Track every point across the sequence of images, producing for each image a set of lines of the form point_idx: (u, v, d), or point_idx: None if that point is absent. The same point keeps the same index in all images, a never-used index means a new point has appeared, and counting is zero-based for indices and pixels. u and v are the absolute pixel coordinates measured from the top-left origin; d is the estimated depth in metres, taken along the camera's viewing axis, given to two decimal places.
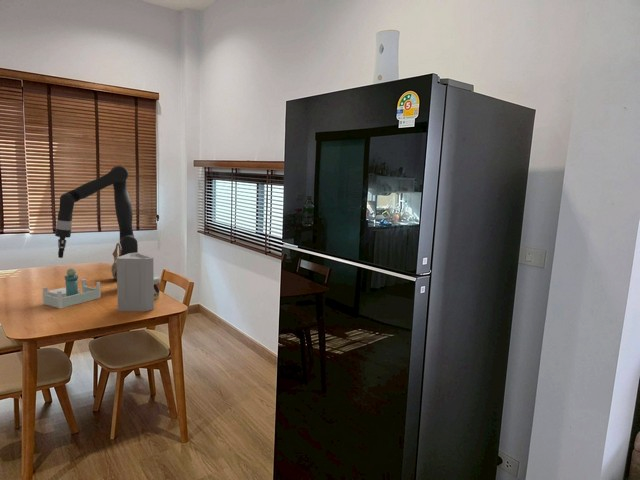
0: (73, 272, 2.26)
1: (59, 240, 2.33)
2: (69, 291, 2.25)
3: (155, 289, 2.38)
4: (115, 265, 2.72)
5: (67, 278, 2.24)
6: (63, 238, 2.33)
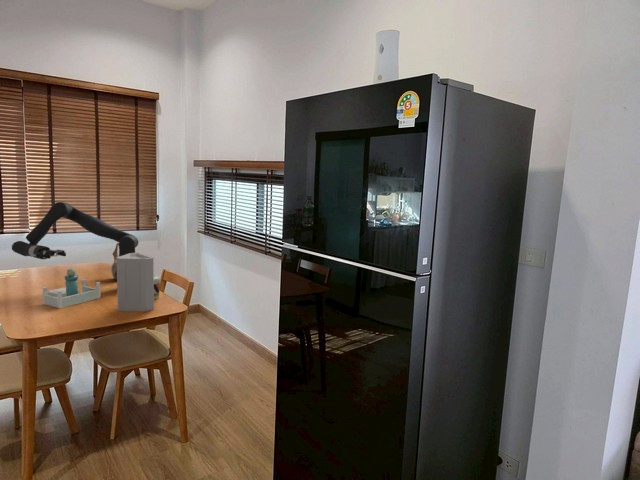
0: (73, 272, 2.26)
1: None
2: (69, 291, 2.25)
3: (155, 289, 2.38)
4: (115, 265, 2.72)
5: (67, 278, 2.24)
6: (38, 253, 2.31)
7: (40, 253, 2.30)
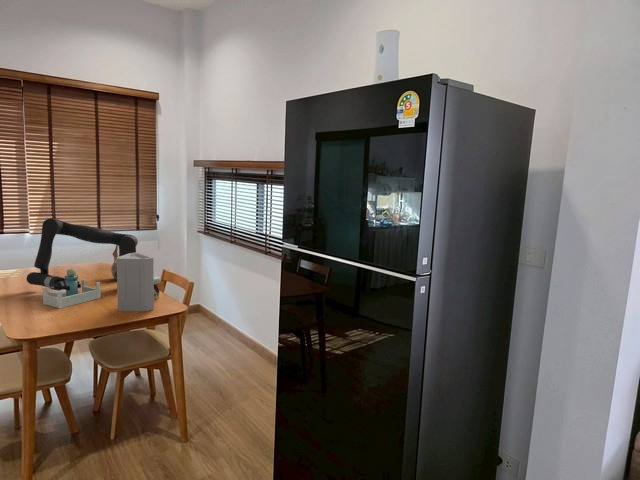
0: (73, 272, 2.26)
1: None
2: (69, 291, 2.25)
3: (155, 289, 2.38)
4: (115, 265, 2.72)
5: (67, 278, 2.24)
6: (54, 284, 2.28)
7: (57, 285, 2.27)
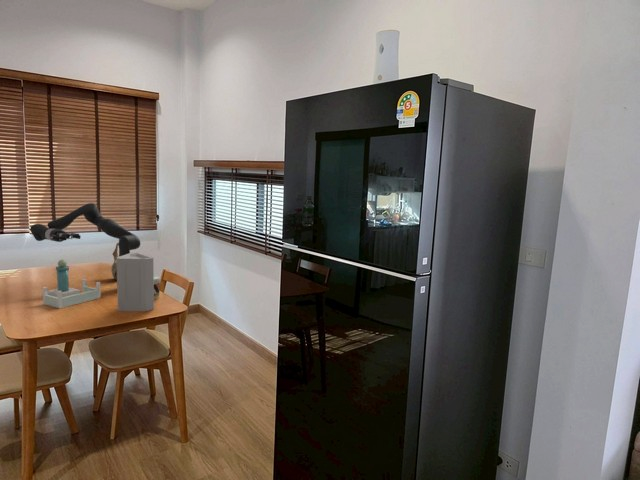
0: (64, 263, 2.37)
1: None
2: (60, 281, 2.37)
3: (155, 289, 2.38)
4: (115, 265, 2.72)
5: (58, 269, 2.35)
6: (54, 236, 2.45)
7: (56, 235, 2.44)
